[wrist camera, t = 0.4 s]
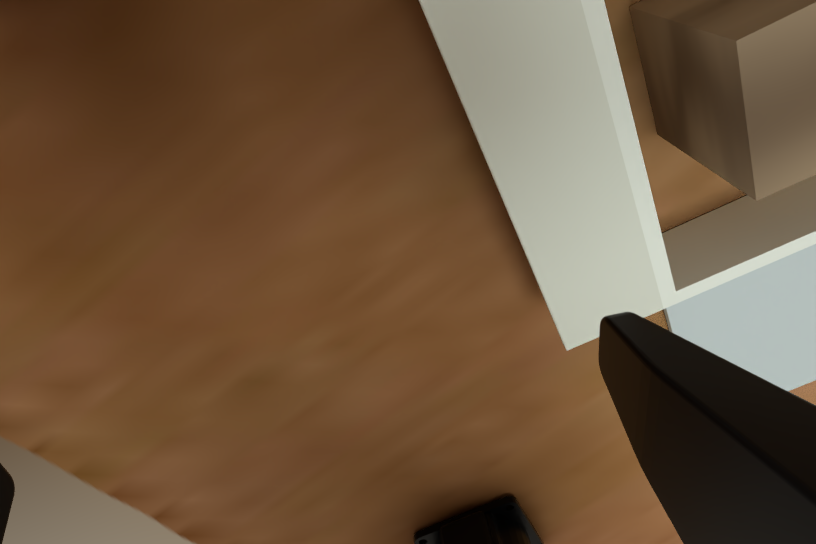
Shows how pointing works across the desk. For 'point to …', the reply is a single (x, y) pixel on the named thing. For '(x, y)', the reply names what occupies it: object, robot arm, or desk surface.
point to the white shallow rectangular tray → (592, 167)
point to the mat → (758, 320)
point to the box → (734, 85)
